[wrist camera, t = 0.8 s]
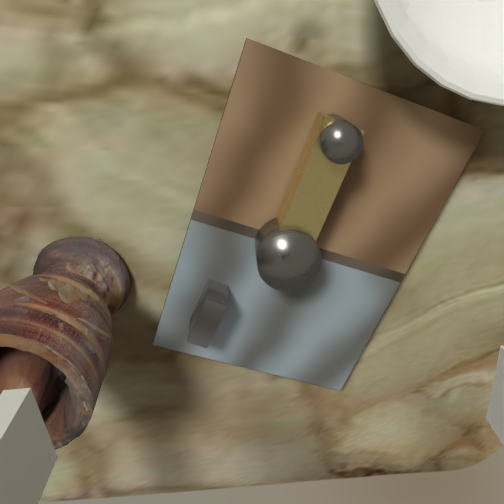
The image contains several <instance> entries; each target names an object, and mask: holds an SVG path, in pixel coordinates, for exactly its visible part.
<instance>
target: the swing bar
mask: <svg viewBox="0 0 504 504" xmlns="http://www.w3.org/2000/svg"><path fill="white" fill-rule="evenodd" d="M364 132H365V131H364V130H362V129H361V128H359V127H358V126H356V125H355V124H352V123H350V122H349V121H347V120H346V119H344V118H343V117H341V116H339V115H337V114H325V113H322V112H319V111H318V113H317V116H316V119H315V121H314V124H313V126H312V129H311V131H310V134H309V136H308V139H307V141H306V144H305V146H304V149H303V152H302V154H301V157H300V159H299V162H298V164H297V167H296V169H295V172H294V174H293V177H292V179H291V182H290V185H289V187H288V190H287V192H286V195H285V197H284V200H283V202H282V205H281V207H280V210H279V212H278V215H277V218H274V219H272V220H270V221H268V222H267V223H265V224H264V225H263V226H262V227H261V228H260V230H259V231H258V233H257V235H256V239H255V252H256V261H257V268H258V272H259V275H260V277H261V278H262V280H263V281H264V282H265V283H266V284H267V285H268V286H270V287H272V288H274V289H276V290H280V291H296V290H299V289H302V288H304V287H306V286H308V285H309V284H311V283H312V282H313V281H314V280H315V279H316V277H317V276H318V274H319V272H320V270H321V267H322V255H321V251H320V249H319V247H318V244H317V242H316V240H317V238H318V235H319V233H320V231H321V229H322V226H323V224H324V222H325V220H326V217H327V215H328V213H329V211H330V208H331V206H332V204H333V202H334V199H335V197H336V195H337V193H338V190H339V188H340V186H341V184H342V181H343V179H344V177H345V175H346V172H347V170H348V168H349V166H350V163H351V162H352V161H353V160H355V159H356V158H357V157H358V156H359V154H360V153H361V151H362V149H363V144H364V140H363V134H364Z"/></svg>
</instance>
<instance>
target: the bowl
mask: <svg viewBox="0 0 504 504" xmlns="http://www.w3.org/2000/svg"><path fill="white" fill-rule="evenodd" d="M374 2H375V4H376V6H377V8H378V10H379V12H380V14H381V16H382V19H383V21H384V23H385V25H386V27H387V29H388V31H389V33H390V35H391V37H392V38H393V39H394V41H395V42H396V43H397V45H398V46H399V47H400V48H401V50H402V51H403V52H404V53H405V55H406V56H407V57H408V59H409V60H410V61H411V62H412V64H413V65H414V66H416V67H417V68H418V69H419V70H421V71H422V72H423V73H424V74H426V75H427V76H428V77H429V78H431V79H432V80H433V81H434V82H436V83H437V84H438V85H439V86H441V87H443V88H446V89H448V90H450V91H452V92H454V93H456V94H459V95H461V96H463V97H465V98H467V99H470V100H475V101H480V102H485V103H490V104H495V105H500V106H504V0H374Z"/></svg>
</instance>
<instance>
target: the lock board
mask: <svg viewBox="0 0 504 504" xmlns="http://www.w3.org/2000/svg"><path fill="white" fill-rule="evenodd" d="M318 111H319V112H322V113H325V114H337V115H339V116H341V117H343V118H344V119H346V120H347V121H349V122H350V123H352V124H355V125H356V126H358V127H359V128H361V129H362V130H364V131H365V132H364V134H363V140H364V144H363V149H362V151H361V153H360V154H359V156H358V157H357V158H356V159H355V160H353V161H352V162H351V163H350V166H349V168H348V170H347V172H346V175H345V177H344V179H343V181H342V184H341V186H340V188H339V190H338V193H337V195H336V197H335V199H334V202H333V204H332V206H331V208H330V211H329V213H328V215H327V217H326V220H325V222H324V224H323V226H322V229H321V231H320V233H319V235H318V238H317V240H316V242H317V244H318V247H319V249H320V251H321V255H322V267H321V270H320V272H319V274H318V276H317V277H316V279H315V280H314V281H313V282H312V283H311V284H309V285H308V286H306V287H304V288H302V289H299V290H296V291H280V290H276V289H274V288H272V287H270V286H268V285H267V284H266V283H265V282H264V281H263V280H262V278H261V277H260V275H259V272H258V268H257V261H256V252H255V239H256V235H257V233H258V231H259V230H260V228H261V227H262V226H263V225H264V224H265V223H267V222H268V221H270V220H272V219H274V218H277V215H278V212H279V210H280V207H281V205H282V202H283V200H284V197H285V195H286V192H287V190H288V187H289V185H290V182H291V179H292V177H293V174H294V172H295V169H296V167H297V164H298V162H299V159H300V157H301V154H302V152H303V149H304V146H305V144H306V141H307V139H308V136H309V134H310V131H311V129H312V126H313V124H314V121H315V119H316V116H317V113H318ZM484 131H485V130H483V129H481V128H478V127H476V126H473V125H470V124H468V123H465V122H463V121H460V120H458V119H455V118H452V117H450V116H447V115H445V114H442V113H439V112H437V111H434V110H432V109H429V108H426V107H424V106H421V105H419V104H416V103H414V102H411V101H408V100H406V99H403V98H401V97H398V96H395V95H393V94H390V93H388V92H385V91H382V90H380V89H377V88H375V87H372V86H370V85H367V84H364V83H362V82H359V81H357V80H354V79H351V78H349V77H346V76H344V75H341V74H338V73H336V72H333V71H331V70H328V69H326V68H323V67H320V66H318V65H315V64H313V63H310V62H307V61H305V60H302V59H300V58H297V57H294V56H292V55H289V54H287V53H284V52H282V51H279V50H276V49H274V48H271V47H269V46H266V45H263V44H261V43H258V42H256V41H253V40H251V39H248V38H246V41H245V45H244V48H243V51H242V54H241V58H240V61H239V64H238V67H237V71H236V74H235V77H234V80H233V84H232V87H231V90H230V93H229V97H228V100H227V103H226V106H225V109H224V113H223V116H222V119H221V122H220V126H219V129H218V132H217V135H216V139H215V142H214V145H213V148H212V152H211V155H210V158H209V161H208V165H207V168H206V171H205V174H204V178H203V181H202V184H201V187H200V191H199V194H198V197H197V200H196V204H195V207H194V210H193V213H192V217H191V220H190V223H189V226H188V230H187V233H186V236H185V239H184V243H183V246H182V249H181V252H180V256H179V259H178V262H177V265H176V269H175V272H174V275H173V278H172V282H171V285H170V288H169V291H168V295H167V298H166V301H165V304H164V308H163V311H162V314H161V317H160V321H159V324H158V327H157V330H156V334H155V337H154V341H153V345H154V346H158V347H163V348H167V349H171V350H175V351H179V352H183V353H187V354H191V355H196V356H200V357H204V358H208V359H212V360H216V361H220V362H224V363H228V364H233V365H237V366H241V367H245V368H249V369H253V370H257V371H261V372H265V373H270V374H274V375H278V376H282V377H286V378H290V379H294V380H298V381H303V382H307V383H311V384H315V385H319V386H323V387H327V388H331V389H335V390H340V391H341V389H342V387H343V385H344V383H345V382H346V380H347V378H348V376H349V374H350V373H351V371H352V369H353V367H354V365H355V364H356V362H357V360H358V358H359V356H360V355H361V353H362V351H363V349H364V347H365V346H366V344H367V342H368V340H369V338H370V337H371V335H372V333H373V331H374V329H375V328H376V326H377V324H378V322H379V320H380V319H381V317H382V315H383V313H384V311H385V310H386V308H387V306H388V304H389V302H390V301H391V299H392V297H393V295H394V293H395V292H396V290H397V288H398V286H399V284H400V283H401V281H402V279H403V277H404V275H405V274H406V272H407V270H408V268H409V266H410V265H411V263H412V261H413V259H414V257H415V256H416V254H417V252H418V250H419V248H420V247H421V245H422V243H423V241H424V239H425V238H426V236H427V234H428V232H429V230H430V229H431V227H432V225H433V223H434V221H435V220H436V218H437V216H438V214H439V212H440V211H441V209H442V207H443V205H444V203H445V202H446V200H447V198H448V196H449V194H450V193H451V191H452V189H453V187H454V185H455V184H456V182H457V180H458V178H459V176H460V175H461V173H462V171H463V169H464V167H465V166H466V164H467V162H468V160H469V158H470V157H471V155H472V153H473V151H474V149H475V148H476V146H477V144H478V142H479V140H480V139H481V137H482V135H483V133H484Z"/></svg>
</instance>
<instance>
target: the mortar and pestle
mask: <svg viewBox="0 0 504 504" xmlns="http://www.w3.org/2000/svg"><path fill="white" fill-rule="evenodd" d="M129 291H130V277H129V273H128V270H127V268H126V266H125V264H124V262H123V261H122V260H121V258H120V257H119V256H118V255H117V254H116V253H115V252H114V251H113V249H111V248H110V247H109V246H107V245H106V244H105V243H104V242H102V241H101V240H100V239H98V238H87V237H70V238H65V239H60V240H57V241H54V242H52V243H51V244H49V245H47V246H46V247H45V248H44V249H43V250H42V251H41V252H40V253H39V255H38V258H37V260H36V263H35V266H34V272H33V275H32V276H28V277H26V278H24V279H22V280H20V281H18V282H16V283H13V284H11V285H9V286H8V287H6V288H4V289H2V290H1V291H0V394H1V393H2V391H3V390H12V389H23V388H31V390H32V392H33V395H34V398H35V400H36V403H37V405H38V408H39V410H40V413H41V416H42V418H43V421H44V423H45V426H46V428H47V431H48V433H49V436H50V439H51V441H52V444H53V446H54V449H55V450H56V449H58V448H61V447H63V446H65V445H67V444H68V443H69V442H71V441H72V440H73V439H75V438H76V437H79V436H80V435H81V434H82V433H83V431H84V430H85V428H86V427H87V425H88V423H89V421H90V419H91V416H92V413H93V410H94V407H95V404H96V401H97V398H98V395H99V391H100V388H101V383H102V381H103V379H104V376H105V374H106V371H107V366H108V362H109V359H110V355H111V348H112V320H111V315H112V314H114V313H115V312H116V311H117V310H118V309H119V308H120V307H121V306H122V305H123V303H124V302H125V300H126V298H127V296H128V294H129Z"/></svg>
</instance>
